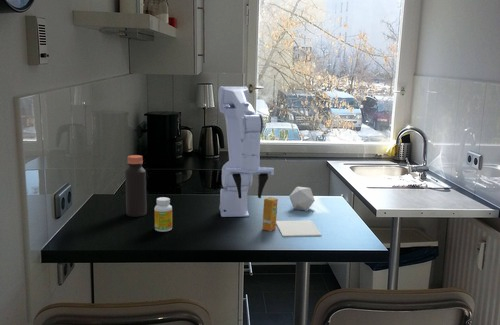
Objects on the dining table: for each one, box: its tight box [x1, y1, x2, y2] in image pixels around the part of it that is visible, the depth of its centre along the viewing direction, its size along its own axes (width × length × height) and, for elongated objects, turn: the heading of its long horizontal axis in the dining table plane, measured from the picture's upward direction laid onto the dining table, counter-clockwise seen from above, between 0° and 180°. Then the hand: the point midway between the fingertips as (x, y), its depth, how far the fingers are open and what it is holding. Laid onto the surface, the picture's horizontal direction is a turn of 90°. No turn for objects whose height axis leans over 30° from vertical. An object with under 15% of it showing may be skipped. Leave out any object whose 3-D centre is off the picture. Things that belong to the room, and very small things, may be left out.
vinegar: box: [124, 154, 148, 218], centre depth 167 cm, size 7×7×20 cm
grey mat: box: [276, 219, 323, 238], centre depth 157 cm, size 12×14×1 cm
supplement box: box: [262, 196, 278, 232], centre depth 155 cm, size 3×3×10 cm
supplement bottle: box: [153, 196, 173, 233], centre depth 153 cm, size 5×5×10 cm
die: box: [288, 186, 315, 212], centre depth 178 cm, size 8×9×10 cm
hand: (249, 197), depth 153 cm, fingers open, 5 cm apart
